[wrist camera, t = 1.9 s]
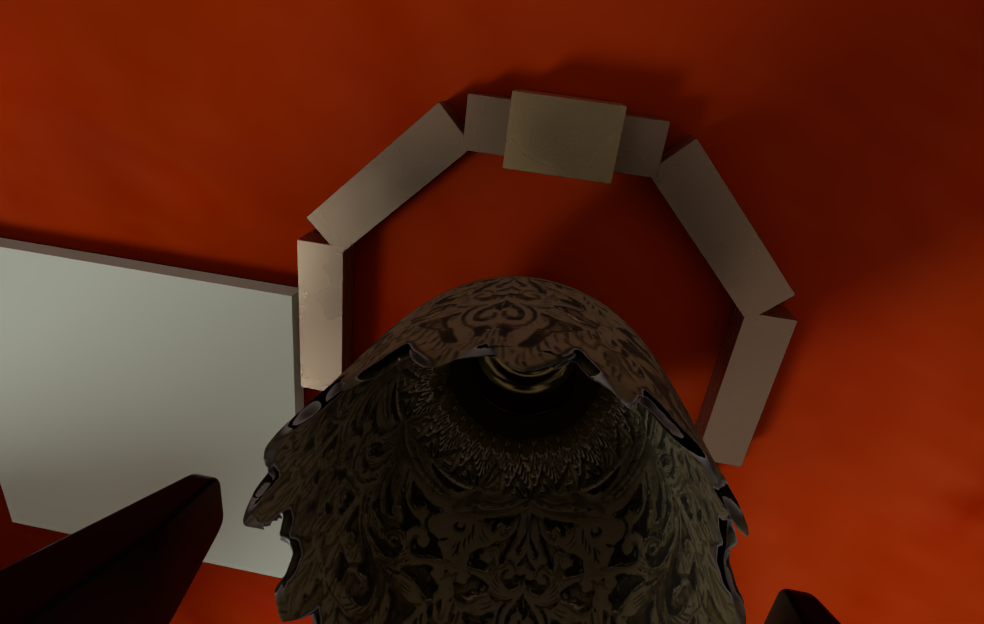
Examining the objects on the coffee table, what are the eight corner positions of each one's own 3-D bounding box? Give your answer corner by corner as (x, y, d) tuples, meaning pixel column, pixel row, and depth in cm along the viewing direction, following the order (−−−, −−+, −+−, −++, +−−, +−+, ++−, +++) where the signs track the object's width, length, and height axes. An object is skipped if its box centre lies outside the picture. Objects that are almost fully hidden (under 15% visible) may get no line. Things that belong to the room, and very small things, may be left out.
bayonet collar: (693, 555, 18) (700, 587, 16) (314, 481, 18) (298, 507, 17) (850, 134, 12) (876, 141, 11) (308, 59, 13) (284, 59, 12)
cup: (659, 457, 16) (727, 772, 9) (414, 449, 17) (299, 723, 10) (676, 204, 13) (797, 367, 6) (380, 213, 14) (185, 360, 7)
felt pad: (307, 568, 20) (300, 581, 20) (27, 510, 21) (12, 522, 20) (301, 288, 16) (291, 296, 15) (-57, 228, 16) (-79, 233, 16)
